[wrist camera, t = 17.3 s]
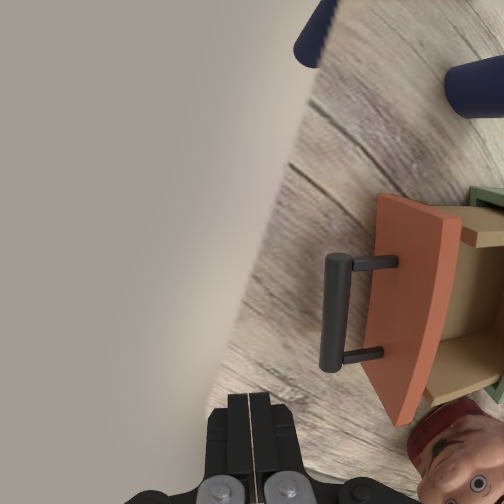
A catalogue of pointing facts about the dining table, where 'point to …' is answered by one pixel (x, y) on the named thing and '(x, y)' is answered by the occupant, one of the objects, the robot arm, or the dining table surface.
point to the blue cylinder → (477, 88)
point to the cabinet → (489, 198)
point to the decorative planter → (459, 455)
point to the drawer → (423, 304)
